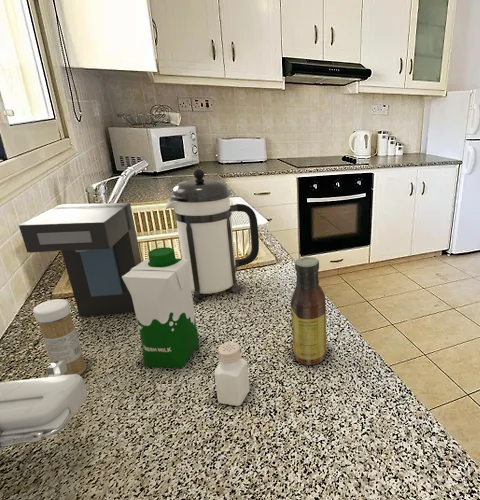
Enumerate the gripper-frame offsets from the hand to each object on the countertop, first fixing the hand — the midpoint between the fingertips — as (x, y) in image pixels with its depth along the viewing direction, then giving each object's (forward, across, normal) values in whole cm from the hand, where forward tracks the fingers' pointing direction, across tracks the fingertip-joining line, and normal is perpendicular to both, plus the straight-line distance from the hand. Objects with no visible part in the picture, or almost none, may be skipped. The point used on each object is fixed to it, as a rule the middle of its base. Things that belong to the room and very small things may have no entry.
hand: (22, 368), depth 52 cm
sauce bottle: (+7, -41, +9) cm, 42 cm away
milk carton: (+12, -16, +9) cm, 22 cm away
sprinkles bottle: (+10, 0, +9) cm, 14 cm away
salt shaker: (-1, -28, +9) cm, 29 cm away
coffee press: (+39, -21, +9) cm, 45 cm away
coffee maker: (+26, 0, +9) cm, 28 cm away
